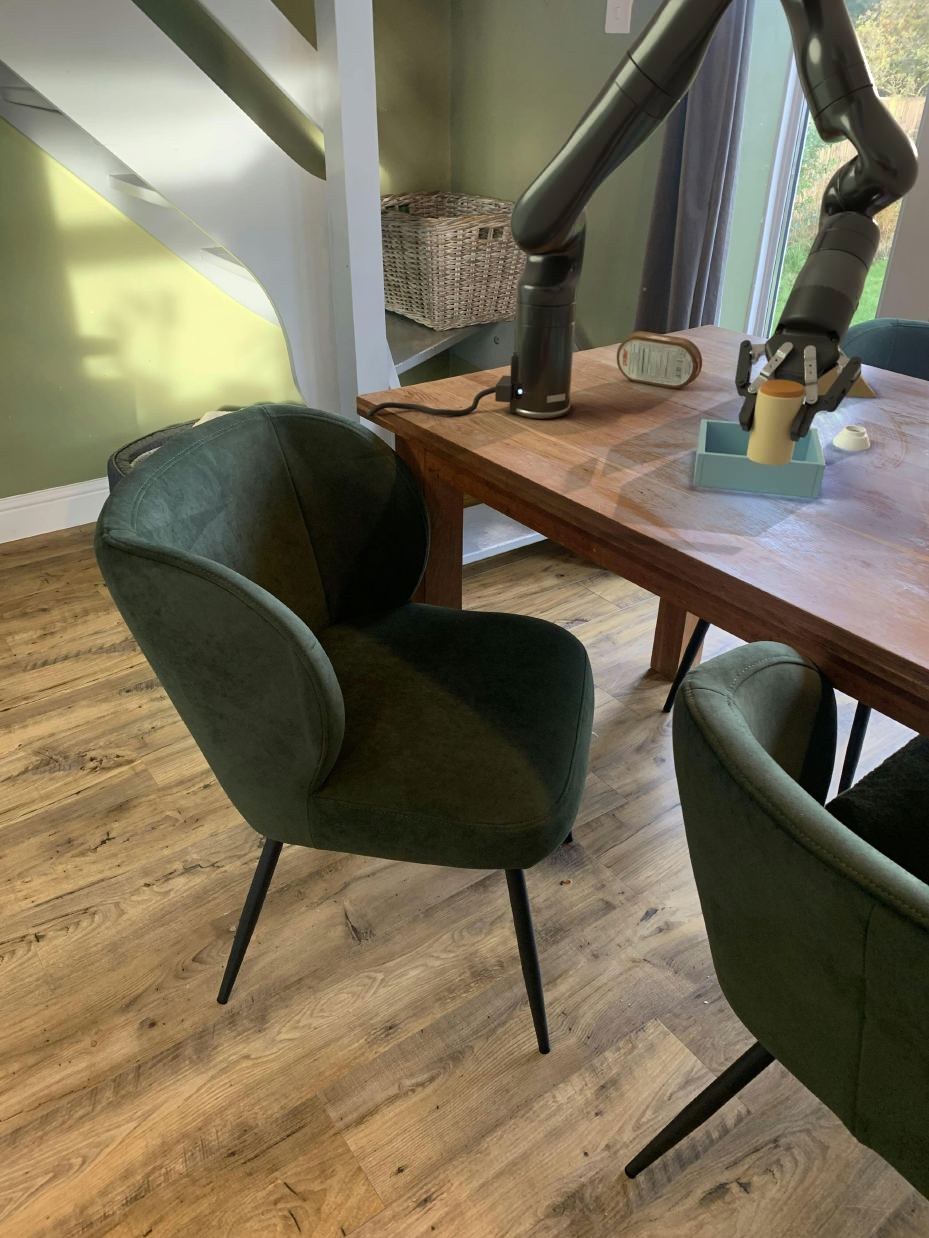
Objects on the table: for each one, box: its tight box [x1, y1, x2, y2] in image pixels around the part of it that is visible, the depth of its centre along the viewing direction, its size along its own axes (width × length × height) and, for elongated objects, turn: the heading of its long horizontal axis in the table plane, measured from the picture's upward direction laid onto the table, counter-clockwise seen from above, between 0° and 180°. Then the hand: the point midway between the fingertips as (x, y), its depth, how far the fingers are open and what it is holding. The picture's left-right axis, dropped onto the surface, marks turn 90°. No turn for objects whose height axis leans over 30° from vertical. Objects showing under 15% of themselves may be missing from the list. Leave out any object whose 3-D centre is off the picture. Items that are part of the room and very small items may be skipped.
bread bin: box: [692, 418, 826, 499], centre depth 118 cm, size 16×14×5 cm
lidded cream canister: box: [747, 379, 806, 465], centre depth 100 cm, size 5×5×8 cm
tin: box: [616, 330, 703, 390], centre depth 152 cm, size 15×3×8 cm, turn 58°
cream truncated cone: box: [832, 424, 871, 452], centre depth 127 cm, size 5×3×5 cm
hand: (769, 432), depth 99 cm, fingers closed on lidded cream canister, 5 cm apart
